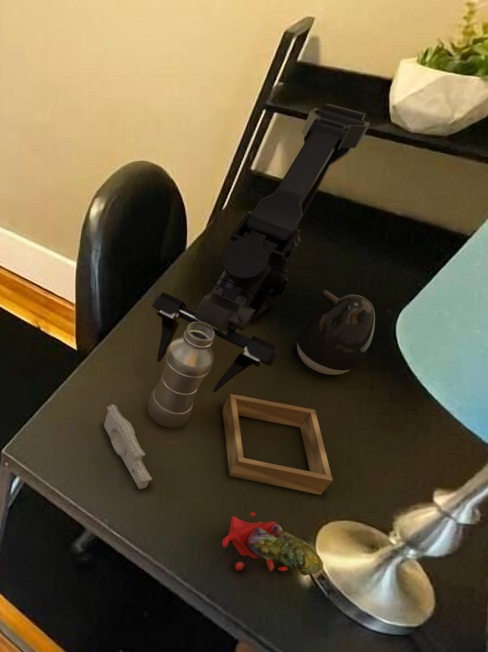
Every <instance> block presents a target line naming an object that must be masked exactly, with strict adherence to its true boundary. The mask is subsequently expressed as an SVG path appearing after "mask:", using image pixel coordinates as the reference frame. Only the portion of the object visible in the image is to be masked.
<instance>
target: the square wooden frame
mask: <svg viewBox="0 0 488 652" xmlns="http://www.w3.org/2000/svg"><path fill="white" fill-rule="evenodd" d="M222 417H223V427H224V437H225V445H226V456H227V463H228V464H227V465H228V473H229V476H230V477H234V478H239V479H243V480H248V481H254V482H258V483H263V484H267V485H273V486H277V487H282V488H286V489H291V490H296V491H301V492H306V493H310V494H314V495H319V496H320V495H322V494H323V493H324V492H325V490H326V489H327V488H329V486H330V485H331V484H332V482H333V480H334V479H333V476H332V472H331V467H330V465H329V464H330V463H329V461H328V456H327V453H326V448H325V445H324V440H323V436H322V432H321V429H320V424H319V420H318V416H317V412H316V409H313V408H307V407H303V406H297V405H292V404H286V403H281V402H275V401H272V400H271V401H270V400H265V399H259V398H254V397H249V396H244V395H239V394H233V393H230V394H229V395H228V397H227V400H226V401H225V403H224V404H223V407H222ZM239 417H245V418H250V419H256V420H260V421H264V422H270V423H275V424H281V425H285V426H292V427H296V428H300V433H301V437H302V441H303V446H304V452H305V456H306V460H307V465H308V468H309V470H306V469H305V470H304V469H299V468H295V467H289V466H285V465H280V464H275V463H270V462H267V461H266V462H265V461H260V460H257V459H256V460H255V459H250V458H246V457H244V450H243V443H242V434H241V428H240V419H239Z"/></svg>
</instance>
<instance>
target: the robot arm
mask: <svg viewBox="0 0 488 652" xmlns="http://www.w3.org/2000/svg"><path fill="white" fill-rule="evenodd" d="M365 117H366V113H364V112H361V111H357V110H353V109H350V108H345V107H341V106H338V105H335V104H331V103H325V104H324V105H323V106H322V108H317V107H314V108H313V109H311V110H310V112H309V114H308V116H307V119H306V120H305V122H304V124H303V127H302V129H301V130H300V133H301V134H302V135H303V136H304V137H303V145H302V147H300V150H299V151H298V153H297V154H296V157H295V158H294V160H293V162H292V163H291V165H290V166H289V168H288V170H287V171H286V173H285V175H284V176H283V178H282V179H281V181H280V183H279V185H278V186H277V188H276V190H275V191H274V192H273V193H272V194H270V195H268V196H265V197H264V198H261V199H260V200H259V202H258V203H257V205H256V206H255V207H254V209H253V211H252V212H251V211H248V212H247V213H246V215H245V216H244V217H243V218H242V220H241V221H240V223H239V224H238V226H237V227H236V228H235V229H234V230H233V232H232V233H231V235H230V241H231V242H230V243H228V245H227V246H225V248H224V250H223V252H222V255H221V256H222V257H221V260H222V266H223V271H222V273H221V275H220V276H219V278H218V280H217V281H216V283H215V285H214V286H213V288H212V290H211V291H210V292H209V293H208V294H207V295H205V296H203V298H202V299H201V301H200V303H199V305H198V307H197V309H196V311H193V310H191V309H189V308H187V304H186V303H185V302H184V301H183V300H181V299H179V298H177V297H175V296H173V295H171V294H168V293H166V292H164V291H163V292H160V293H158V294H157V295H156V296H155V298H154V299H153V301H152V303H151V307H153V309H155V310H157V312H156V315H157V316H158V317H159V318H160V319H161V337H160V341H159V346H158V351H157V352H158V353H157V357H156V361H157V362H158V363H160V362H161V361H162V360H163V359H164V357H165V356H166V351H167V348H168V346H169V344H170V343H171V342H172V341H173V338H174V337H175V334H176V331H177V330H178V327H179V325H180V323H179V322H178V321H177V320H179V319H182V320H184V321H186V322H188V323H189V324H190V323H192V322H202V323H205V324H207V325H209V326H210V327H211V328H212V329H213V330H214V332H215V336H217V337H218V338H221V339H223V340H224V341H227V342H229V343H231V344H232V345H234V346H237V347H238V348H241V349H242V350H243V352H240V353H239V354H238V355H237V356H236V358H235V359H234V360H233V362H232V364H231V365H230V366H229V367H228V368H227V370H226V371H225V372H224V373H223V375H222V376H221V378H220V379H219V380H218V381H217V383H216V384H215V386H214V388H213V389H212V392H213V393H217V392H218V391H219V390H220V389H221V388H222V387H224V386H225V385H226V384H228V382H230V381H231V380H232V379H233V378H234V377H235V376H237V375H238V374H240V373H241V372H243V371H244V370H246V369H247V368H249V367H250V366H252V365H253V366H255V367H257V368H259V367H260V366H261V363H263V364H264V365H266V366H269V367H271V366H272V365H273V363H274V361H275V359H276V358H277V356H278V354H279V349H278V346H277V345H276V344H274V343H273V344H272V343H270V342H268V341H267V340H264V339H263V338H260V337H258V336H256V335H254V334H253V335H252V337H251V338H250V337H248V336H245V335H243V334H241V333H239V332H237V329H238V330H240V331H242V332H243V331H244V330H246V329H247V328H248V325H249V323H250V322H251V323H252V322H254V321H255V320H256V319H257V318H259V316H261V314H262V313H263V312H265V311H266V310H267V309H268V308H269V304H267V303H266V300H267V298H268V296H269V297H271V298H273V299H275V298H276V297H277V296H282V294H283V293H284V291H285V289H286V287H287V284H288V282H289V279H288V275H289V270H288V269H287V267H288V265H289V263H290V261H291V256H292V254H293V253H294V251H295V250H296V249H297V248H298V245H299V244H300V242H301V240H302V239H301V237H300V236H301V234H302V233H301V230H299V226H300V223H301V221H302V220H303V218H304V216H305V214H306V212H307V210H308V209H309V207H310V205H311V203H312V202H313V199H314V197H315V195H316V194H317V192H318V190H319V188H320V186H321V185H322V183H323V181H324V179H325V177H326V175H327V173H328V172H329V170H330V168H331V166H332V165H333V164H335V163H336V162H337V161H340V160H342V158H344V157H345V156H347V155H348V154H350V152H351V150H352V149H356V148H357V147H358V145H359V144H360V143H361V141H362V140H363V138H364V136H365V134H366V132H367V130H368V129H369V127H370V124H371V122H368V121H365Z"/></svg>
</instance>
